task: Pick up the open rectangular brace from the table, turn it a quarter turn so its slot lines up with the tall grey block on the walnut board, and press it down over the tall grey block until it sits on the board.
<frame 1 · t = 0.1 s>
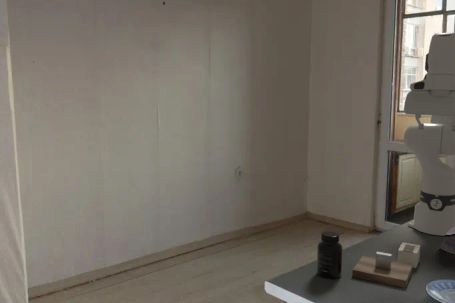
hand: (437, 130, 141), 39 cm above the table, tool pointing down, fingers open, 8 cm apart
board: (382, 274, 128), on the table
supplement bottle: (328, 275, 127), on the table
open rectangular brace: (408, 261, 137), on the table
tall grey block: (383, 260, 127), on the board, point 4 cm above the table
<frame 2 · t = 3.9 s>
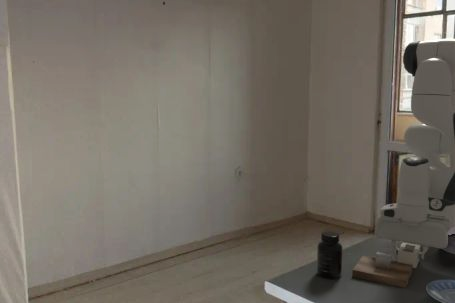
hand: (408, 256, 136), 2 cm above the table, tool pointing down, fingers closed on open rectangular brace, 5 cm apart
open rectangular brace: (408, 261, 137), on the table, touching gripper
everything else where it was.
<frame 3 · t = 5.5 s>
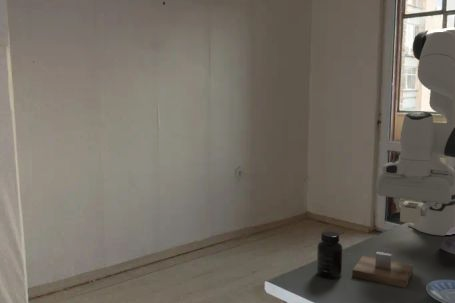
hand: (411, 213, 134), 15 cm above the table, tool pointing down, fingers closed on open rectangular brace, 5 cm apart
open rectangular brace: (411, 219, 135), point 13 cm above the table, touching gripper
everything else where it was.
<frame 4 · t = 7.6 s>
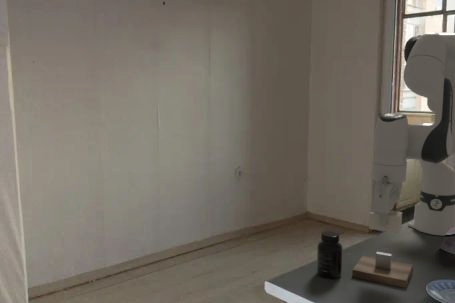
hand: (385, 222, 126), 15 cm above the table, tool pointing down, fingers closed on open rectangular brace, 5 cm apart
open rectangular brace: (385, 228, 126), point 13 cm above the table, touching gripper
everything else where it was.
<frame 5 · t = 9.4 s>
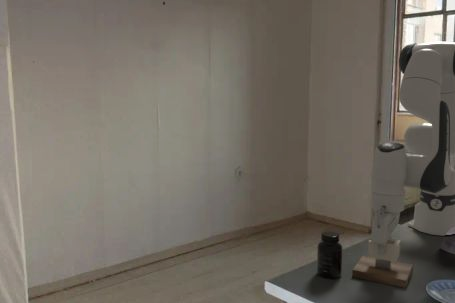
hand: (384, 250, 127), 7 cm above the table, tool pointing down, fingers closed on open rectangular brace, 5 cm apart
open rectangular brace: (383, 256, 127), point 5 cm above the table, touching gripper
everything else where it was.
when the fingers open (4 cm above the table, at t = 11.3 s): open rectangular brace stays where it is, resting on board.
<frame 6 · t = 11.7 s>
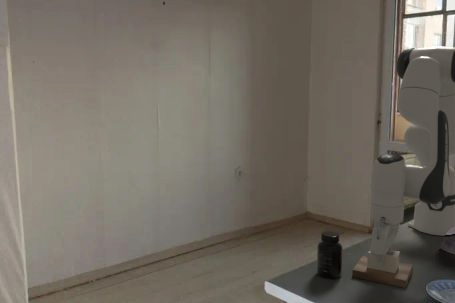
hand: (383, 260, 127), 4 cm above the table, tool pointing down, fingers open, 8 cm apart
open rectangular brace: (382, 267, 128), point 2 cm above the table, touching board
everything else where it was.
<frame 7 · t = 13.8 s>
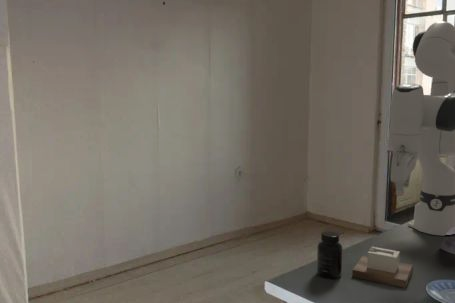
hand: (402, 190, 129), 23 cm above the table, tool pointing down, fingers open, 8 cm apart
nothing on the table moved.
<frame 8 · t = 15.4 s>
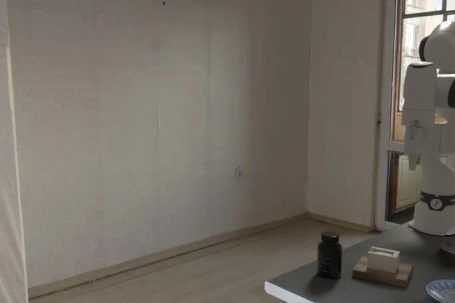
hand: (414, 167, 131), 29 cm above the table, tool pointing down, fingers open, 8 cm apart
nothing on the table moved.
at the end: open rectangular brace 0.1 cm off-centre on the tall grey block, point 2.0 cm above the tall grey block's base; open rectangular brace tilted 0°; the gripper is holding nothing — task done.
